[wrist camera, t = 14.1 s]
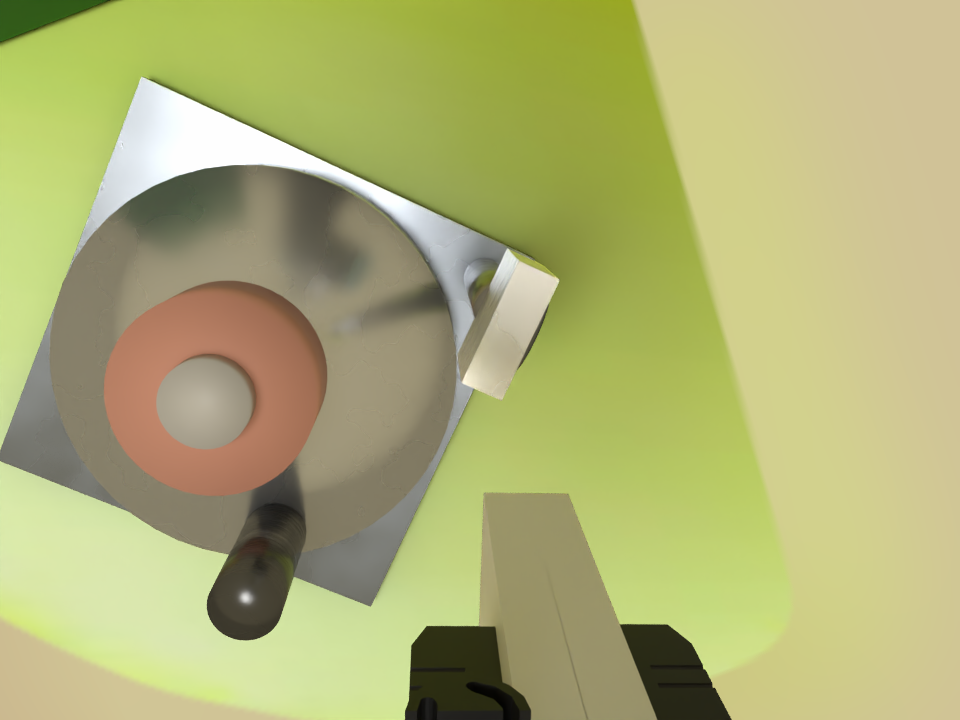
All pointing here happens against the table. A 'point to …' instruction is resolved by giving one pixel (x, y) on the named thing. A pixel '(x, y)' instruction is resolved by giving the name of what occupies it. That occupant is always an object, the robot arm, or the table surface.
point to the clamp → (36, 14)
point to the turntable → (341, 330)
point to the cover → (216, 388)
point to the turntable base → (444, 243)
